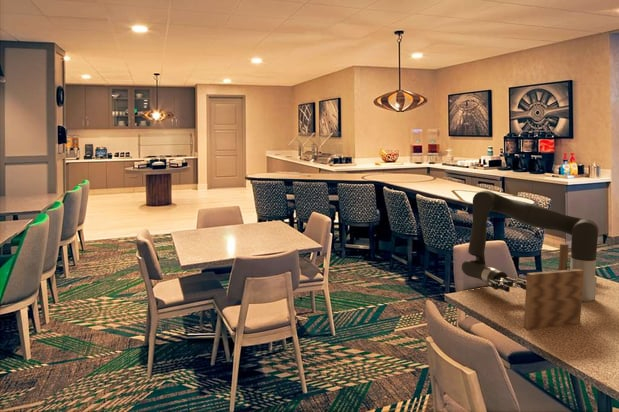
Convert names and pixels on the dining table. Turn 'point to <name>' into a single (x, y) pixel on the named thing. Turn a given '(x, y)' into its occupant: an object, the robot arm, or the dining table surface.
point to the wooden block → (563, 257)
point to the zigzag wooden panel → (553, 298)
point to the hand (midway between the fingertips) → (518, 288)
